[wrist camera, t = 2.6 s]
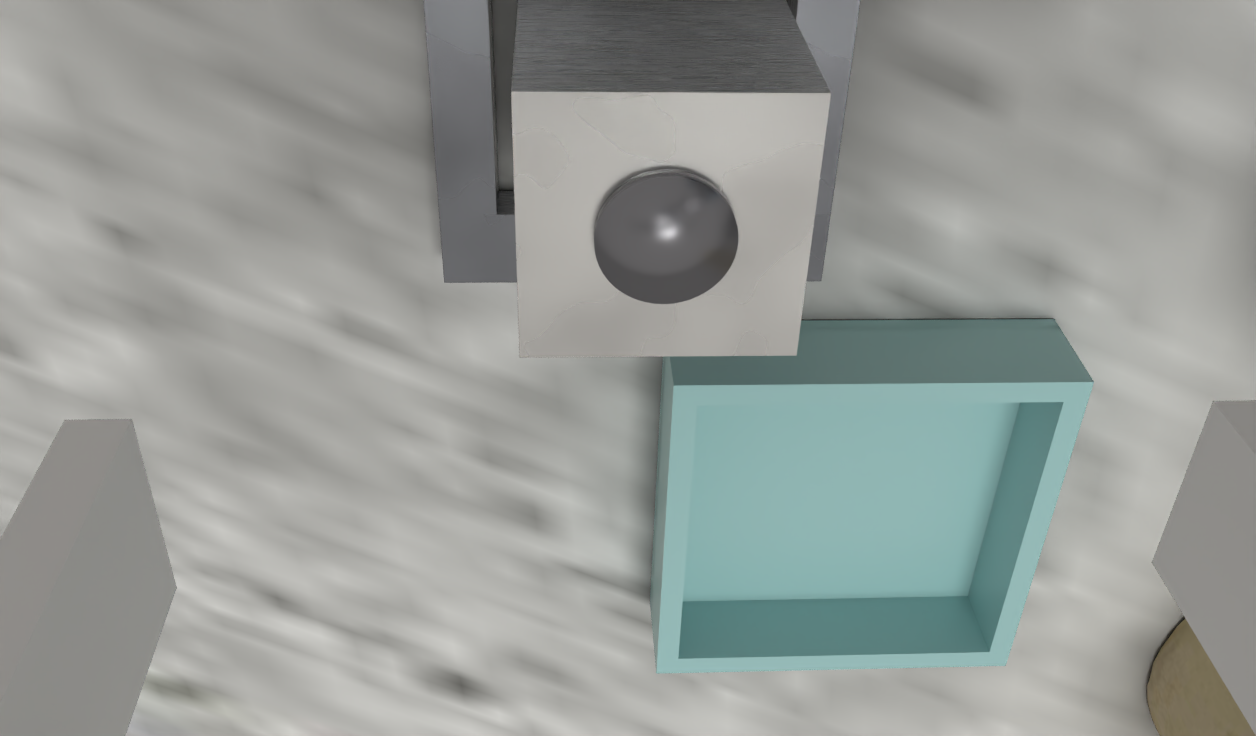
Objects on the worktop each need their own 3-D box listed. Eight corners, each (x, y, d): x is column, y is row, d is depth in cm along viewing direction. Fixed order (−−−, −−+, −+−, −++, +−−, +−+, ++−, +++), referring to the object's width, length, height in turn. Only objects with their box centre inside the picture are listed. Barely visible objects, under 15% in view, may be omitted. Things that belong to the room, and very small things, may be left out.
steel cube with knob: (522, -57, 25) (510, 99, 18) (759, -54, 25) (834, 100, 18) (527, 162, 28) (518, 367, 21) (740, 162, 28) (799, 365, 21)
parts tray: (664, 321, 30) (673, 385, 28) (1054, 318, 31) (1093, 382, 29) (649, 601, 36) (656, 673, 34) (977, 595, 37) (1005, 665, 35)
